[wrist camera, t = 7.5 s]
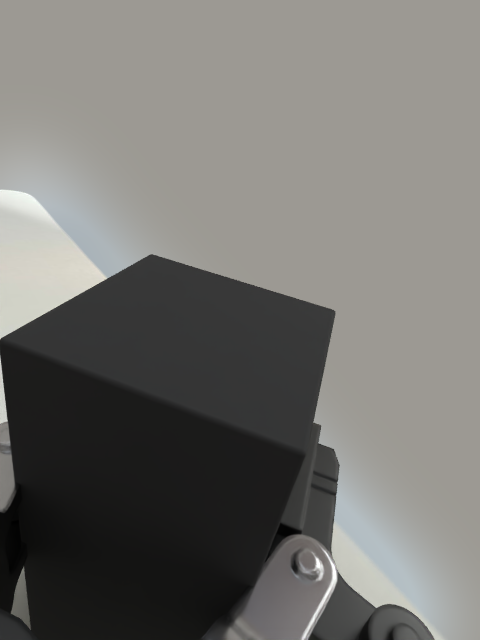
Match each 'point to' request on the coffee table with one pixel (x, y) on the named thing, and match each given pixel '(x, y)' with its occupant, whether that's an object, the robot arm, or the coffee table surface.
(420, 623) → the robot arm
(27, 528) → the tall black rectangular block
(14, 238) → the coffee table surface
